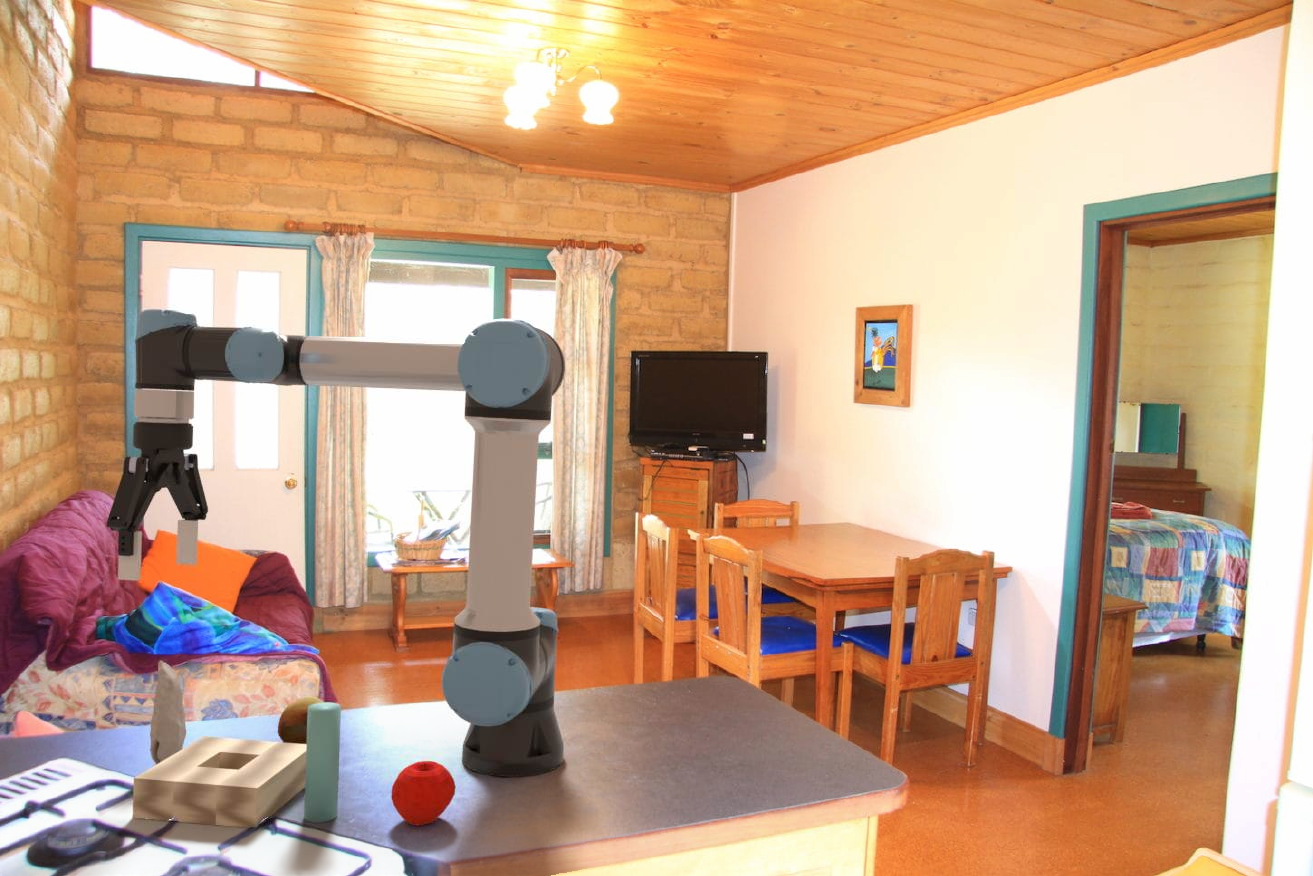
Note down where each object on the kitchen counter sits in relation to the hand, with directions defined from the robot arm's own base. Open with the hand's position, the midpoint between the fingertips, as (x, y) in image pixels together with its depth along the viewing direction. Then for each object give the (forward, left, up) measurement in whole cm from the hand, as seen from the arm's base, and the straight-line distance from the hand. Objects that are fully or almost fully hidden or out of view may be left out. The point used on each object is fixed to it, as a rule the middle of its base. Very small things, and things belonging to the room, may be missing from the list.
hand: (159, 571), depth 139 cm
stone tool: (-2, 0, -28) cm, 28 cm away
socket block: (-16, +9, -28) cm, 33 cm away
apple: (-43, +11, -28) cm, 52 cm away
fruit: (-18, -10, -28) cm, 35 cm away
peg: (-30, +12, -28) cm, 42 cm away
